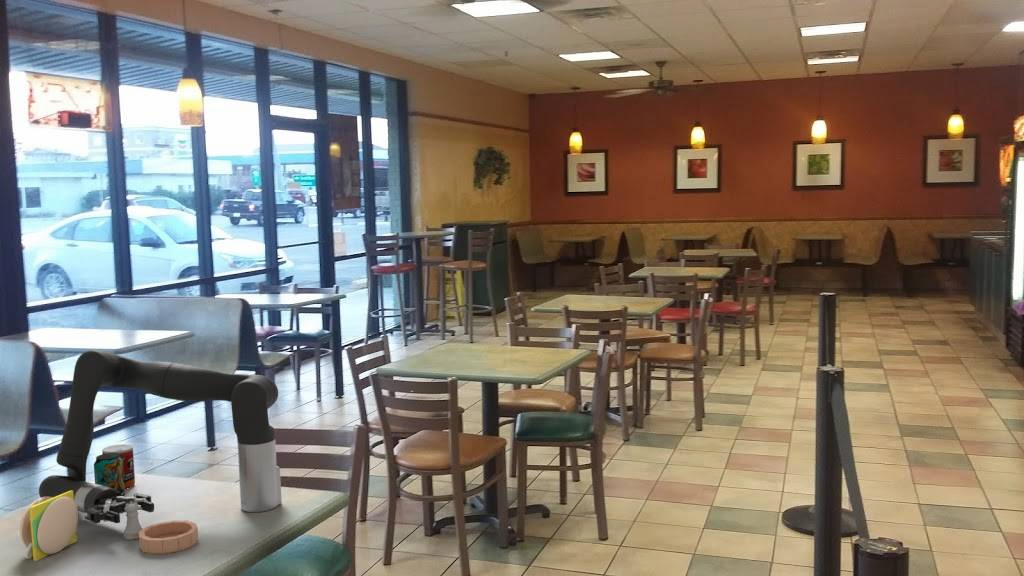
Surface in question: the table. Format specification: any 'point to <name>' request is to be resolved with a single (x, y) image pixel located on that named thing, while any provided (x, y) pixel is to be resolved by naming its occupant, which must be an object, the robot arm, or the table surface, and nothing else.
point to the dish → (168, 537)
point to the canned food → (124, 462)
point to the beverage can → (110, 472)
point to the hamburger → (49, 525)
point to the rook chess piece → (132, 522)
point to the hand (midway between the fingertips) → (135, 513)
